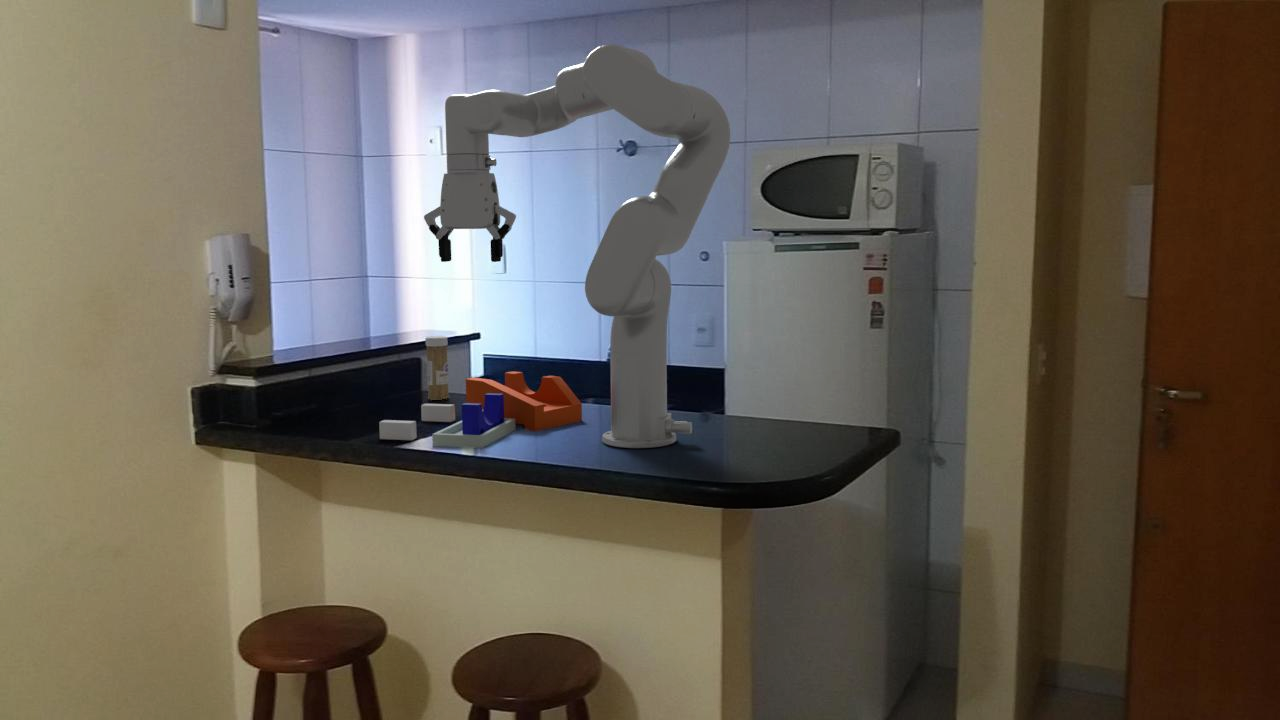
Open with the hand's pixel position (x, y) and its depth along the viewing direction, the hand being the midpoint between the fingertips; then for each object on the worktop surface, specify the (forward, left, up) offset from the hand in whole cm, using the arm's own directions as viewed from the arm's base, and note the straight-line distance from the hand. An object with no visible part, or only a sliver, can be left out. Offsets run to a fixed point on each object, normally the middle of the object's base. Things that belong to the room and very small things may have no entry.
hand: (471, 261), depth 193 cm
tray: (-4, +10, -30) cm, 32 cm away
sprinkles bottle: (+19, -26, -31) cm, 44 cm away
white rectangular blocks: (+9, +5, -30) cm, 32 cm away
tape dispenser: (-7, -7, -31) cm, 32 cm away
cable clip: (-5, +10, -30) cm, 32 cm away
